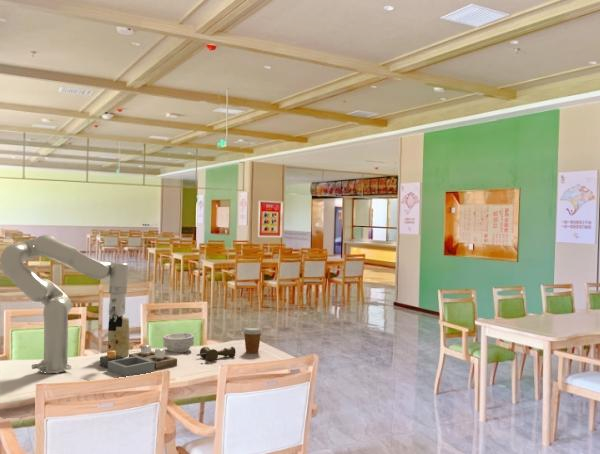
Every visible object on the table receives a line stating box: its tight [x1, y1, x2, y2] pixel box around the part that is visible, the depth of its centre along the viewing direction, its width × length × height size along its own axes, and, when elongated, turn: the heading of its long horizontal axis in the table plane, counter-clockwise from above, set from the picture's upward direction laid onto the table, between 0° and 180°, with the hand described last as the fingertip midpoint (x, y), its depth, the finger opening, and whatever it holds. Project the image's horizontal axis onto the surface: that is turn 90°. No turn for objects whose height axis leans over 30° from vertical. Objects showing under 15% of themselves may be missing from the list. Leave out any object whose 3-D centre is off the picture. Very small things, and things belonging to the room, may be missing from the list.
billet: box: [154, 347, 166, 361], centre depth 247 cm, size 4×4×7 cm
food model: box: [107, 316, 130, 358], centre depth 260 cm, size 10×7×20 cm
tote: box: [107, 356, 155, 377], centre depth 236 cm, size 14×14×5 cm
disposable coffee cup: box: [243, 326, 263, 354], centre depth 280 cm, size 10×10×12 cm
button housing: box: [99, 355, 123, 370], centre depth 243 cm, size 7×7×5 cm
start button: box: [106, 350, 116, 359], centre depth 243 cm, size 4×4×4 cm
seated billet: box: [140, 344, 152, 357], centre depth 254 cm, size 4×4×7 cm
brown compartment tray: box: [128, 350, 178, 371], centre depth 250 cm, size 22×11×4 cm, turn 48°
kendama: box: [196, 346, 237, 362], centre depth 265 cm, size 6×10×20 cm
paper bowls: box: [162, 332, 195, 354], centre depth 279 cm, size 15×15×8 cm
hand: (115, 328), depth 243 cm, fingers open, 9 cm apart
